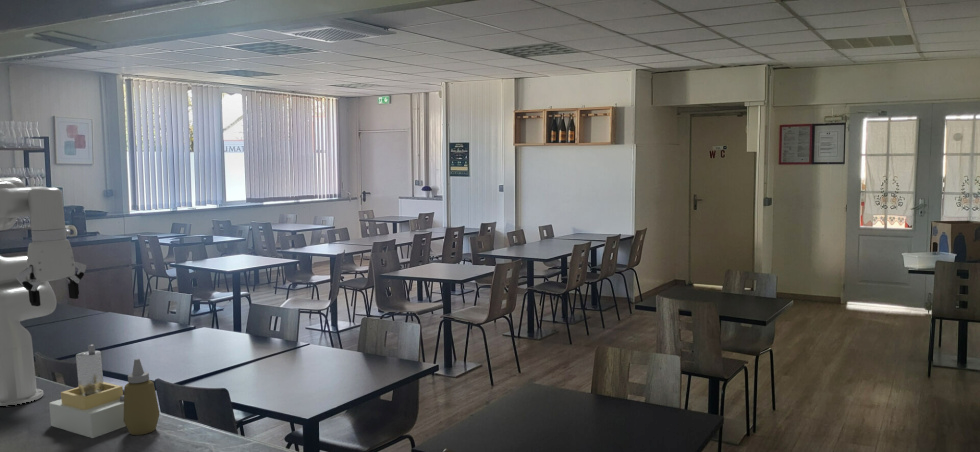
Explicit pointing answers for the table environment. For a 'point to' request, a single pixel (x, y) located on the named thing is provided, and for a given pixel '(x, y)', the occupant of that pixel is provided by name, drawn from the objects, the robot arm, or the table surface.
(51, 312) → the robot arm
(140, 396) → the squeeze bottle
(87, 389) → the spout can
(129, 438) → the table surface
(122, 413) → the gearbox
